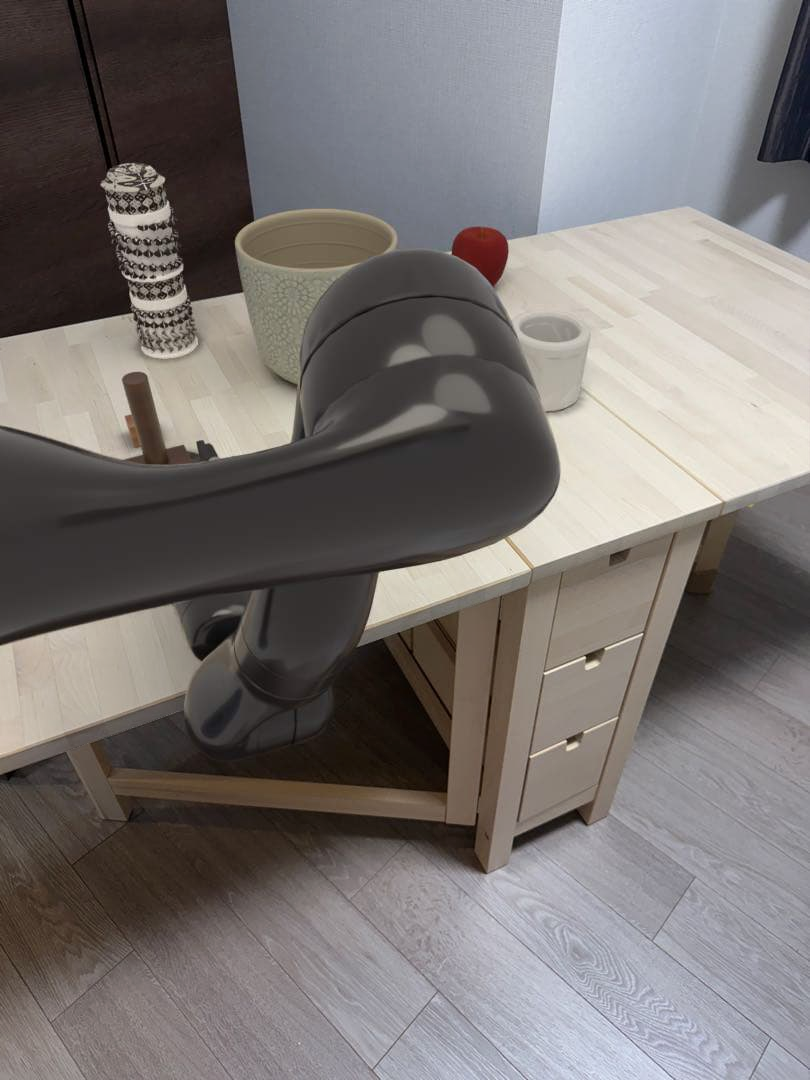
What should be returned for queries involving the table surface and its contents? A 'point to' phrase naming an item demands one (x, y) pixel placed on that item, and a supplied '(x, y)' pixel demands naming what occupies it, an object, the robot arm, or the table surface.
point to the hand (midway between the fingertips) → (158, 458)
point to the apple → (483, 251)
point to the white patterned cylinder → (150, 259)
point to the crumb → (132, 430)
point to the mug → (554, 354)
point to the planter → (300, 271)
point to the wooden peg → (149, 424)
